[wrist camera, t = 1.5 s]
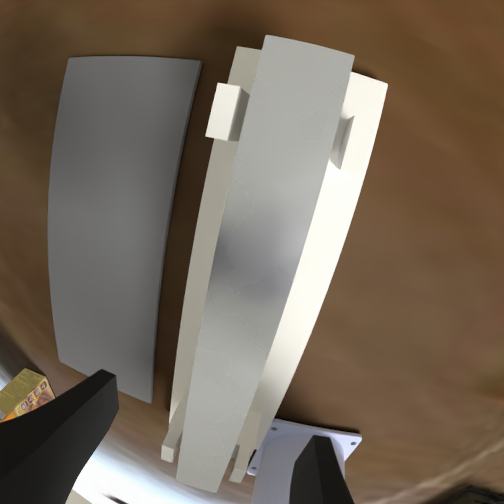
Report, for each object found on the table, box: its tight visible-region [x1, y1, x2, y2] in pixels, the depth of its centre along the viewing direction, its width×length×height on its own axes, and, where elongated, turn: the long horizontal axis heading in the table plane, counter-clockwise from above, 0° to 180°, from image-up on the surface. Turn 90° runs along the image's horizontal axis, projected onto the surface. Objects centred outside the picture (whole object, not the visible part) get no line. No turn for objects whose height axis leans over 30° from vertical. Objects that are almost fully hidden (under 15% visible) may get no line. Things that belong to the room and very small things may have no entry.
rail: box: [176, 35, 354, 493], centre depth 14 cm, size 26×3×2 cm, turn 167°
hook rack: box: [161, 46, 388, 483], centre depth 17 cm, size 28×8×6 cm, turn 167°
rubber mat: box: [48, 56, 203, 404], centre depth 20 cm, size 26×10×1 cm, turn 167°
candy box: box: [0, 368, 55, 423], centre depth 22 cm, size 9×4×15 cm, turn 1°
